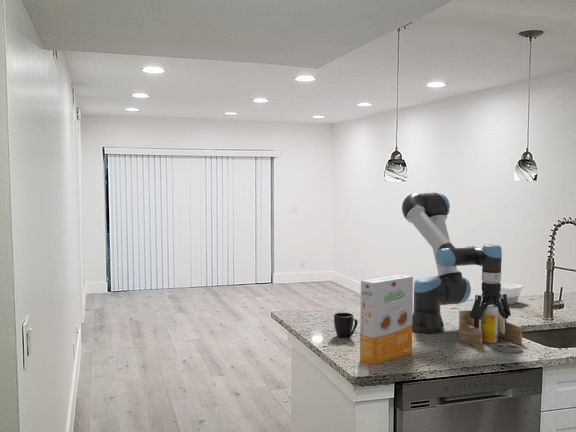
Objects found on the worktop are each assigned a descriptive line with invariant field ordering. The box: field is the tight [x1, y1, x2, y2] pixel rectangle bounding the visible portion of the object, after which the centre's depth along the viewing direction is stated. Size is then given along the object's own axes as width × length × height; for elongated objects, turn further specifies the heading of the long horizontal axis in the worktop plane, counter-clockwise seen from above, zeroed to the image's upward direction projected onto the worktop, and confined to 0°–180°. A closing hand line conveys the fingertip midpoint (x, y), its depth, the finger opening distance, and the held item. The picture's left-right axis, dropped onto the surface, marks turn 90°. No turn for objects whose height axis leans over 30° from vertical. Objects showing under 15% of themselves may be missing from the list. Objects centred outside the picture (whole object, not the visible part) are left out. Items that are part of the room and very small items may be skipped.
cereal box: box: [359, 274, 414, 365], centre depth 221 cm, size 22×6×30 cm, turn 129°
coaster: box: [495, 344, 523, 354], centre depth 231 cm, size 10×10×1 cm
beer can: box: [482, 304, 499, 344], centre depth 242 cm, size 6×6×15 cm
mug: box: [333, 312, 359, 339], centre depth 248 cm, size 8×12×10 cm
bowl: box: [499, 281, 524, 305], centre depth 321 cm, size 18×18×9 cm
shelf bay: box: [458, 309, 523, 349], centre depth 243 cm, size 20×14×12 cm
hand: (490, 334), depth 243 cm, fingers open, 11 cm apart
